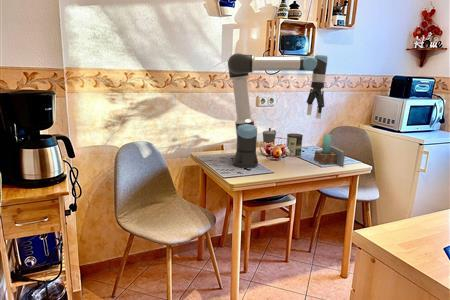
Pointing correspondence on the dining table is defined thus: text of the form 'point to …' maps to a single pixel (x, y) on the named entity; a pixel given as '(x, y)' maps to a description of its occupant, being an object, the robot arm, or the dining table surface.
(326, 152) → the dowel
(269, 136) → the coffeepot
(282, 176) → the dining table surface
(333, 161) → the socket block
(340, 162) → the wall
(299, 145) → the coffee can
